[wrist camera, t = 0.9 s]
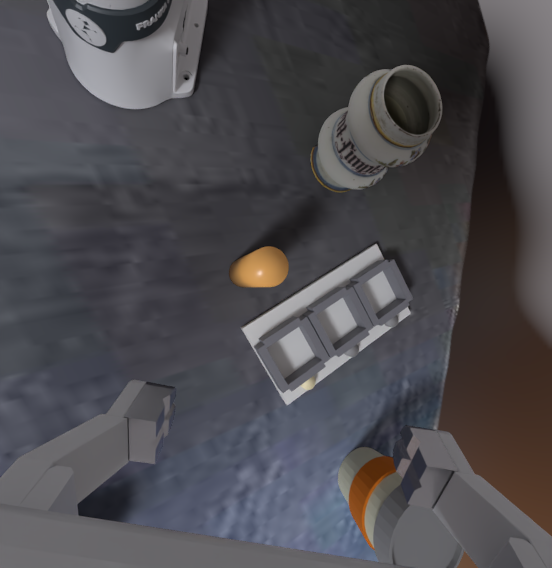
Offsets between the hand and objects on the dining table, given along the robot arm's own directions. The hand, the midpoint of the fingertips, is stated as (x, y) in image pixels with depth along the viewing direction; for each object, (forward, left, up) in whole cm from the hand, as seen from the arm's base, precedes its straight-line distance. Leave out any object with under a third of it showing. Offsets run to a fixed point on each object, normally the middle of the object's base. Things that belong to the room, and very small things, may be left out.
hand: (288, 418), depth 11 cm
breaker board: (-6, +20, -36) cm, 41 cm away
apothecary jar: (-31, +12, -36) cm, 49 cm away
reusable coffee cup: (+17, +34, -36) cm, 52 cm away
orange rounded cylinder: (-8, +3, -36) cm, 37 cm away
